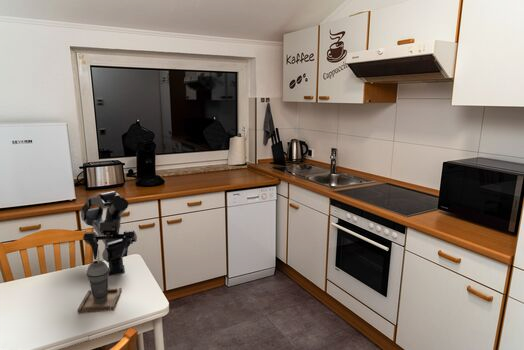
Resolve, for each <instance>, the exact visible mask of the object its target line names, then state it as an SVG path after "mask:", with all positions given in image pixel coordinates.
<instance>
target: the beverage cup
mask: <svg viewBox="0 0 524 350" xmlns="http://www.w3.org/2000/svg"><path fill="white" fill-rule="evenodd" d="M108 267H109V265H108V264H107V262H106V261H105V262H104V261H102V260H100V249H98V252H97V260H94V261H93V262H91V263H90V264H89V265H88V266H87V270H86V276H87V278H88V281H89V286H90V290H91V292H92V295H93V299H94V302H95V303H96V304H101V303H104V302H106V301H107V299H108V298H107V297H108V289H109V287H108V286H109V279H108V278H109V275H108V272H109V269H108Z"/></svg>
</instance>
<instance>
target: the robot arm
mask: <svg viewBox="0 0 524 350" xmlns="http://www.w3.org/2000/svg"><path fill="white" fill-rule="evenodd" d="M85 200H86V201H85V203H84V205H83V206H82V207H81V209H80V219H81V221H82V222H84V224H86V225H87V226H90V227H93V229H94V231H90V232H88V231H87V232H85V233H83V235H82V240H83V241H84V242H85V243H86V244H87V245H89V246H90V247H91V250H92V254H93V259H94V261H97V259H98V250H99V244H98V242H99V241H102V242H103V244H104V250H103V252H102V255H101V256H102V259H103V260H104V261H105V263H106V264H107V265H108V269H109V272H108V276H112V275H118V274H124V273H126V269H125V264H124V258H125V257H128V252H129V251H128V248H129V247H130V245H132V244H134V243H136V242H137V240H138V236H137V234H136V232H135V230H133V229H132V230H124V231H123V233H120V229H121V226H122V225H121V221H122V215H123V214H124V213H125V211H126V210H127V209H128V208H129V202H128V200H127V199H126V198H124V197H121V195H120V194H119V193H118V192H116V190H112V191H106V192H102V193H101V192H100V193H98V194H97V195H96V196H91V197H88V198H86V199H85ZM95 206H97V207H95ZM91 207H93V208H91ZM103 208H106V212H105V220H104V219H103V214H104V209H103Z"/></svg>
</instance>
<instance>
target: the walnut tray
mask: <svg viewBox="0 0 524 350" xmlns="http://www.w3.org/2000/svg"><path fill="white" fill-rule="evenodd" d="M122 292H123V290H122V287H120V288H119V287H118V288H117V287H116V288H108V297H107V298H108V299H107V301H106V302H104V303H101V304H96V303H95V302H94V299H93V295H92V291H91V289H88V290H87V292H86V294H85V296H84V297H83V299H82V301H81V303H80V304H79V306H78V308H77V314H88V313H99V312H100V313H101V312H103V313H104V312H114V311H115V309H116V307H117V304H118V302H119V300H120V298H121V296H122V295H121V294H122Z"/></svg>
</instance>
